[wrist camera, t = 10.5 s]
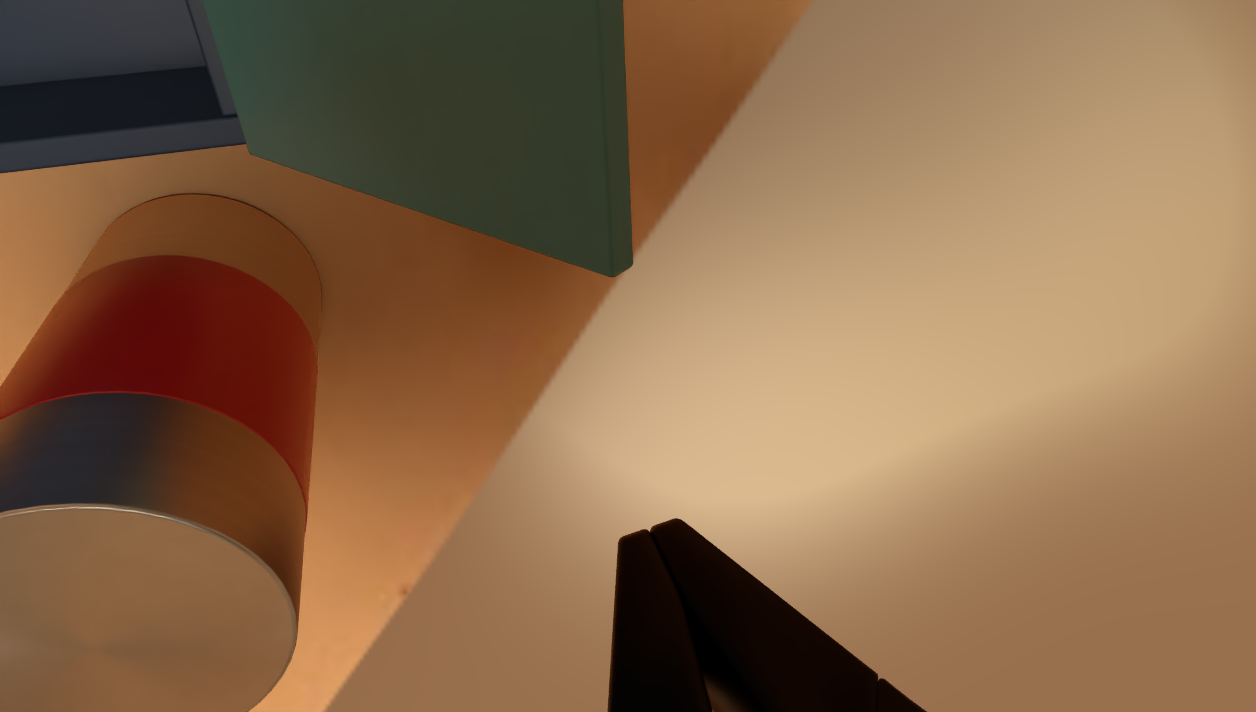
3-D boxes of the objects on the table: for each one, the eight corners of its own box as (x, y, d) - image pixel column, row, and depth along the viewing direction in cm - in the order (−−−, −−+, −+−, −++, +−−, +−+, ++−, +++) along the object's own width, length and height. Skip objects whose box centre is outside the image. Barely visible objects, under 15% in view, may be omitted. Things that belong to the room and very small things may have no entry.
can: (292, 178, 19) (237, 464, 10) (343, 359, 22) (336, 707, 13) (49, 209, 18) (-255, 563, 9) (137, 396, 21) (-27, 805, 12)
